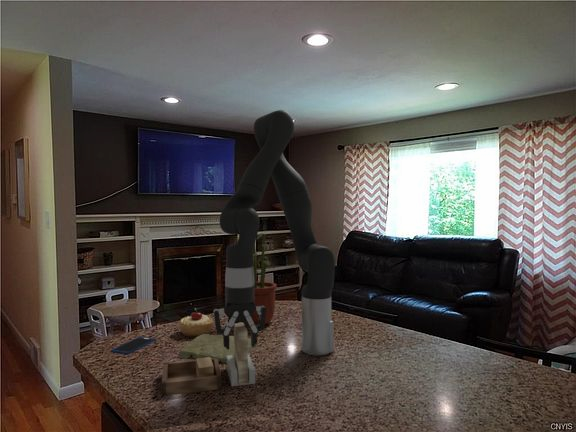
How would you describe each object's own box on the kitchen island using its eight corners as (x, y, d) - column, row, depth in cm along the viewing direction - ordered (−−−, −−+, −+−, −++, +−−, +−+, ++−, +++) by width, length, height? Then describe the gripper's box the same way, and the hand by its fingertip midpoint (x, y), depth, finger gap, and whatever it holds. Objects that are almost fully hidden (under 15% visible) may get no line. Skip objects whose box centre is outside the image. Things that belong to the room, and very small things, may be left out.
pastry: (184, 342, 134) (183, 316, 134) (176, 331, 144) (175, 307, 144) (218, 335, 140) (217, 310, 139) (207, 325, 150) (207, 302, 150)
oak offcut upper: (210, 365, 105) (210, 356, 105) (213, 375, 99) (213, 366, 99) (196, 367, 104) (196, 358, 104) (199, 377, 98) (199, 368, 98)
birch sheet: (243, 367, 109) (242, 321, 109) (248, 382, 100) (247, 331, 100) (234, 368, 108) (233, 321, 108) (238, 383, 100) (237, 332, 99)
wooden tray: (217, 371, 109) (217, 357, 109) (221, 392, 97) (221, 376, 97) (164, 377, 105) (163, 362, 105) (161, 400, 93) (161, 383, 93)
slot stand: (248, 369, 110) (248, 353, 110) (255, 387, 100) (255, 369, 100) (226, 371, 109) (226, 355, 109) (231, 390, 98) (231, 372, 98)
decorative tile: (200, 342, 134) (200, 331, 134) (257, 346, 130) (257, 335, 130) (173, 364, 115) (173, 352, 115) (239, 370, 111) (239, 357, 111)
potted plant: (283, 322, 154) (283, 232, 153) (254, 332, 142) (254, 235, 141) (252, 314, 165) (252, 230, 164) (223, 322, 154) (223, 232, 152)
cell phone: (157, 340, 135) (157, 338, 135) (128, 355, 122) (128, 353, 122) (139, 338, 137) (139, 336, 137) (109, 353, 124) (109, 350, 124)
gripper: (263, 279, 109) (264, 340, 109) (210, 282, 105) (211, 344, 106) (269, 285, 102) (270, 349, 102) (213, 288, 98) (213, 355, 99)
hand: (240, 346), depth 104 cm, fingers open, 6 cm apart
